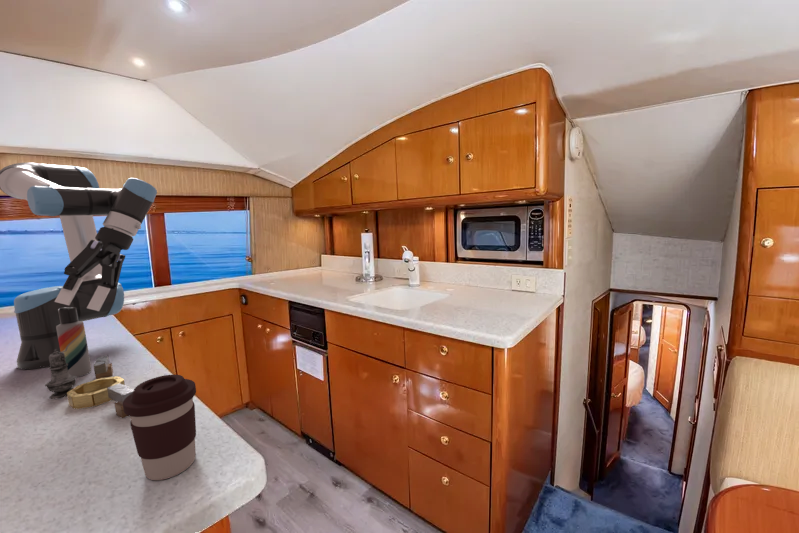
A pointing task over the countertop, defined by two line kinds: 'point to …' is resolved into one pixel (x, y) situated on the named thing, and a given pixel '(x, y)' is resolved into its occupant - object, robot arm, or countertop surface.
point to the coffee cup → (163, 424)
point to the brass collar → (92, 392)
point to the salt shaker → (59, 376)
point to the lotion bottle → (73, 342)
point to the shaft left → (103, 367)
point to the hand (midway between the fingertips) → (78, 307)
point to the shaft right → (119, 397)
